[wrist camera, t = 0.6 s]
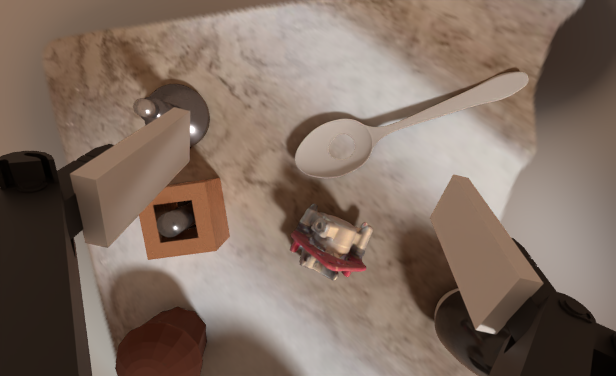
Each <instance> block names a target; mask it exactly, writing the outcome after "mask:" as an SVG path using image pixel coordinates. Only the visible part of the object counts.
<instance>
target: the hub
mask: <svg viewBox="0 0 616 376" xmlns="http://www.w3.org/2000/svg"><path fill="white" fill-rule="evenodd" d="M174 107H176V108H180V109H184V110H188V111H190V147H191V146H193V145H195V144H197V143H198V142H199V141H200V140H201V139H202V138H203V137H204V136H205V134H206V132H207V130H208V127H209V122H210V116H209V110H208V107H207V105H206V103H205V101H204V100H203V98H202V97H201V96H200V95H199V94H198V93H197V92H196V91H194V90H192V89H191V88H189V87H187V86H184V85H180V84H169V85H165V86H162V87H160V88H158V89H157V90H155V91H154V92H153V93H152V94H151V96H150V97H147V98H145V99H143V98H140V99H137V100H136V101H135V103H134V106H133V108H134V111H135V113H136V114H137V115H139V116H141V117H142V119H144V120H145V124H146V125H147V124H149V123H150V122H152V121H154V120H155V119H157V118H158V117H160V116H161V115H163V114H165V113H166V112H168V111H169V110H171V109H172V108H174Z"/></svg>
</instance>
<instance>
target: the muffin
mask: <svg viewBox="0 0 616 376" xmlns="http://www.w3.org/2000/svg"><path fill="white" fill-rule="evenodd" d="M206 342H207V339H206V324H205V323H204V322H203V321H202V320H201V319H200V318H199V317H198V315H197V314H196V313H195V312H194V311H189V310H185V309H182V308H180V307H176V308H174V309H171V310H168V311H164V312H161V313H159V314H158V315H157V316H155V317H154V318H152V319H151V320H149V321H148V322H147V323H145V324H144V325H142V326H140V327H138V328H136V329H134V330H132V331H130V332H129V333H128V334H127V335H126V337H125V338H124V339H123V340H122V342H121V343H120V344H119V346H118V352H117V358H116V367H115V369H116V372H117V375H118V376H200V372H201V367H202V362H203V360H202V356H203V353H204V349H205V346H206Z"/></svg>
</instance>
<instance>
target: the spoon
mask: <svg viewBox="0 0 616 376" xmlns="http://www.w3.org/2000/svg"><path fill="white" fill-rule="evenodd" d="M527 83H528V76H527V74H526V73H524V72H508V73H503V74H500V75H497V76H494V77H492V78H490V79H488V80H486V81H485V82H483V83H481V84H479V85H477V86H475V87H474V88H472V89H469V90H467V91H465V92H463V93H461V94H459V95H457V96H454V97H452V98H450V99H448V100H446V101H443V102H441V103H439V104H437V105H434V106H432V107H430V108H428V109H425V110H423V111H421V112H419V113H417V114H414V115H412V116H410V117H408V118H406V119H403V120H401V121H399V122H396V123H393V124H391V125H387V126H383V127H370V126H367V125H364V124H362V123H361V122H359V121H356V120H353V119H337V120H333V121H330V122H327V123H324V124H322V125H320V126H319V127H317V128H315V129H314V130H313V131H312V132H310V133H309V134H308V135H307V136H306V137H305V139H304V140H303V141H302V142H301V144H300V145H299V147H298V149H297V151H296V154H295V163H296V166H297V167H298V169H299V170H300V171H302V172H303V173H305V174H307V175H309V176H313V177H318V178H335V177H340V176H343V175H346V174H348V173H351V172H353V171H354V170H356V169H358V168H359V167H361V166H362V165H363V164H364V163H365V162H366V161H367V160H368V158H369V156H370V154H371V152H372V150H373V148H374V146H375V144H376V143H377V142H378V141H379V140H380V139H382V138H383V137H384V136H386V135H388V134H390V133H392V132H394V131H397V130H399V129H402V128H405V127H408V126H411V125H415V124H418V123H421V122H424V121H428V120H431V119H434V118H437V117H441V116H444V115H447V114H450V113H453V112H456V111H460V110H463V109H466V108H469V107H473V106H476V105H480V104H484V103H489V102H493V101H498V100H501V99H504V98H507V97H509V96H511V95H513V94H514V93H516V92H518V91H519V90H520V89H522V88H523V87H524V86H525V85H526V84H527ZM341 134H347V135H349V136H351V137H352V139H353V140H354V143H355V149H354V152H353V154H352V155H351V156H350V157H349V158H347V159H336V158H334V157H332V156H331V155H330V153H329V145H330V143H331V141H332V140H333V139H334V138H335V137H337V136H339V135H341Z"/></svg>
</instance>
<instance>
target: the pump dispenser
mask: <svg viewBox="0 0 616 376" xmlns="http://www.w3.org/2000/svg"><path fill="white" fill-rule="evenodd" d="M434 319H435V330H436V333H437V336H438V338H439V340H440V341H441V343H442V344H443V345H444V347H445V348H446V349H447V350H448V351H449V352H450V353H451V354H452V355H453V356H454V357H455V358H456V359H457V360H458V361H459V362H460V363H461V364H463V365H464V366H465V367H466V368H468V369H469V370H470V371H472V372H473V373H475V374H476V375H478V376H489V374H490V372H491V369H492V367H493V365H494V363H495V361H496V359H497V356H498V354H499V353H498V354H497V355H496V354H495V353H493V352H494V351H495V350H496V349H497V348H498V347H499V346H500V345H501V344H502V343H503V342H504V341H505V340H506V339H507V338H508V337H509V336H510V335H511V333H510V331H509V329H508V327H507V325H505V326H504V327H503V328H502V329H501V330H500V331H499V332H498V333H497V334H491V333H487V332H482V331H478V330H475V327H474V325H473V322H472V320H471V318H470V315H469V313H468V310H467V308H466V305H465V303H464V300H463V298H462V295H461V293H460V291H459V288H457V289H454V290H451V291H449V292H448V293H446V294H445V295H444V296H443V297H442V298H441V299H440V300H439V302H438V304H437V306H436V309H435V315H434Z"/></svg>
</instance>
